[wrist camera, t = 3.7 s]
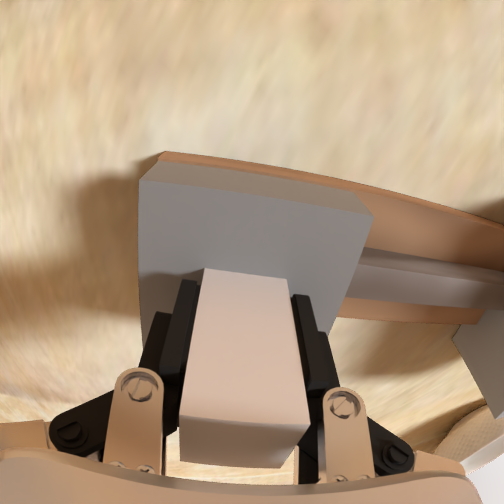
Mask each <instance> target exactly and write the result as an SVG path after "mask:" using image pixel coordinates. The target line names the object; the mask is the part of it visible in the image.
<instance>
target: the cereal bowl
mask: <svg viewBox="0 0 504 504" xmlns="http://www.w3.org/2000/svg"><path fill="white" fill-rule="evenodd" d="M503 453H504V417H502V418H499V419H496V420H495V419H494V417H493V415H492V413H491V411H490V409H489V407H488V405H485V406H482V407H480V408H478V409H476V410H474V411H473V412H471V413H469V414H468V415H466V416H465V417H463V418H462V419H461V420H460V421H458V422H457V423H456V424H455V425H454V426H453V427H452V428H451V430H450V432H449V434H448V435H447V437H445V439H444V440H443V441H442V442H441V443H440V444H439V446H438V447H437V448H436V450H435V452H434V454H433V455H437V456H440V457H444V458H447V459H451V460H455V461H457V462H459V463H460V464H461V465H462V466H463V468H464V470H465V475H468V474H470V473H472V472H474V471H476V470H478V469H480V468H481V467H483V466H485V465H486V464H488V463H490V462H491V461H493V460H494V459H496V458H497V457H499V456H500V455H502V454H503Z"/></svg>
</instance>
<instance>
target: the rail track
mask: <svg viewBox="0 0 504 504" xmlns="http://www.w3.org/2000/svg"><path fill="white" fill-rule="evenodd" d="M158 161H164V162H174V163H182V164H190V165H198V166H206V167H214V168H221V169H228V170H235V171H241V172H248V173H254V174H260V175H266V176H272V177H278V178H284V179H289V180H295V181H300V182H306V183H311V184H316V185H321V186H326V187H331V188H336V189H341V190H345V191H350V192H354V193H355V194H356V196H357V197H358V198H359V199H360V200H361V201H362V203H363V204H364V205H365V206H366V207H367V208H368V210H369V211H370V212H371V213H372V214H373V216H374V219H373V222H372V225H371V228H370V231H369V234H368V237H367V239H366V242H365V245H364V248H363V251H362V253H361V256H360V259H359V261H358V264H357V267H356V269H355V272H354V274H353V277H352V280H351V282H350V285H349V287H348V290H347V292H346V295H345V297H344V300H343V302H342V304H341V307H340V309H339V312H338V314H337V316H336V317H343V318H355V319H368V320H383V321H398V322H416V323H438V324H469V325H477V323H478V321H479V320H480V318H481V317H482V315H483V313H484V312H485V310H486V309H489V310H504V225H502V224H499V223H496V222H493V221H490V220H488V219H485V218H482V217H478V216H475V215H472V214H469V213H466V212H463V211H460V210H456V209H453V208H450V207H447V206H443V205H440V204H436V203H433V202H429V201H426V200H422V199H419V198H415V197H411V196H408V195H404V194H400V193H396V192H392V191H388V190H385V189H380V188H376V187H372V186H368V185H364V184H360V183H355V182H351V181H346V180H342V179H337V178H333V177H328V176H323V175H318V174H313V173H308V172H303V171H298V170H292V169H287V168H282V167H276V166H270V165H264V164H258V163H252V162H246V161H239V160H232V159H226V158H218V157H211V156H203V155H195V154H187V153H178V152H169V151H165V152H164V153H163V154H161V155H160V156H159V157H158ZM158 161H157V162H158Z"/></svg>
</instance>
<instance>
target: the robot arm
mask: <svg viewBox="0 0 504 504" xmlns="http://www.w3.org/2000/svg"><path fill="white" fill-rule="evenodd" d="M200 290H201V285H197V281H194V280H187V279H182V281H181V284H180V288H179V291H178V295H177V299H176V302H175V306H174V309H173V313H172V314H171V313H165V312H159V311H156V313H155V315H154V318H153V321H152V324H151V327H150V331H149V334H148V337H147V340H146V343H145V346H144V350H143V353H142V356H141V360H140V363H139V366H138V368H132V369H128V370H126V371H124V372H123V373H122V374H121V375H120V376H119V377H118V378H117V381H116V383H115V388H114V390H112V391H110V392H108V393H106V394H104V395H101V396H99V397H97V398H95V399H93V400H90V401H88V402H86V403H84V404H82V405H79V406H77V407H75V408H73V409H70V410H68V411H66V412H63V413H61V414H59V415H58V416H56V417H55V418H54V419H53V420H52V421H50V422H44V420H34V421H24V422H13V423H0V504H482V501H481V498H480V496H479V494H478V491H477V489H476V488H475V486H474V484H473V483H472V482H471V481H470V480H469V479H468V478H467V477H466V475H465V470H464V468H463V466H462V465H461V464H460V463H459V462H457V461H455V460H451V459H447V458H444V457H440V456H437V455H433V454H430V453H427V452H423V451H420V450H417V451H416V452H414V451H413V450H412V449H411V447H410V446H409V445H408V444H407V443H406V442H405V441H403V440H402V439H400V438H399V437H397V436H396V435H394V434H393V433H391V432H390V431H388V430H387V429H385V428H384V427H382V426H381V425H379V424H378V423H376V422H375V421H373V420H372V419H370V418H369V417H367V415H366V409H365V404H364V401H363V400H362V398H361V397H360V395H358V394H357V393H356V392H355V391H353V390H351V389H349V388H344V387H340V384H339V380H338V376H337V372H336V368H335V364H334V360H333V356H332V352H331V348H330V345H329V341H328V337H327V334H326V333H325V332H323V331H318V328H317V324H316V320H315V316H314V312H313V308H312V304H311V300H310V297H309V296H308V295H301V294H293V296H292V297H290V301H291V307H292V312H293V318H294V324H295V330H296V336H297V342H298V348H299V354H300V360H301V366H302V372H303V379H304V385H305V391H306V398H307V404H308V411H309V418H310V426H309V427H308V429H307V430H306V432H305V433H304V435H303V436H302V438H301V439H300V441H299V442H298V444H297V445H296V447H295V448H294V481H293V485H250V484H230V483H217V482H207V481H198V480H189V479H182V478H175V477H168V476H166V469H167V436H168V435H170V434H172V433H173V432H175V431H177V427H179V412H180V405H181V399H182V393H183V386H184V380H185V374H186V368H187V362H188V356H189V350H190V344H191V339H192V333H193V328H194V322H195V317H196V311H197V306H198V301H199V295H200Z"/></svg>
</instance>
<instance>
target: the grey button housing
mask: <svg viewBox="0 0 504 504" xmlns="http://www.w3.org/2000/svg"><path fill="white" fill-rule="evenodd" d="M452 341H453V343H454V344H455V346H456V348H457V349H458V351H459V353H460V354H461V356H462V358H463V360H464V362H465V363H466V365H467V367H468V369H469V370H470V372H471V374H472V376H473V378H474V380H475V382H476V383H477V385H478V387H479V389H480V391H481V393H482V395H483V397H484V399H485V401H486V403H487V405H488V407H489V409H490V411H491V413H492V415H493V417H494V419H495V420H496V419H499V418H502V417H504V310H489V309H486V310H485V312H484V313H483V315H482V317H481V318H480V320H479V321H478V323H477V325H469V324H461V326H460V327H459V329H458V331H457V332H456V334H455V335H454V337H453V338H452Z"/></svg>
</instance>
